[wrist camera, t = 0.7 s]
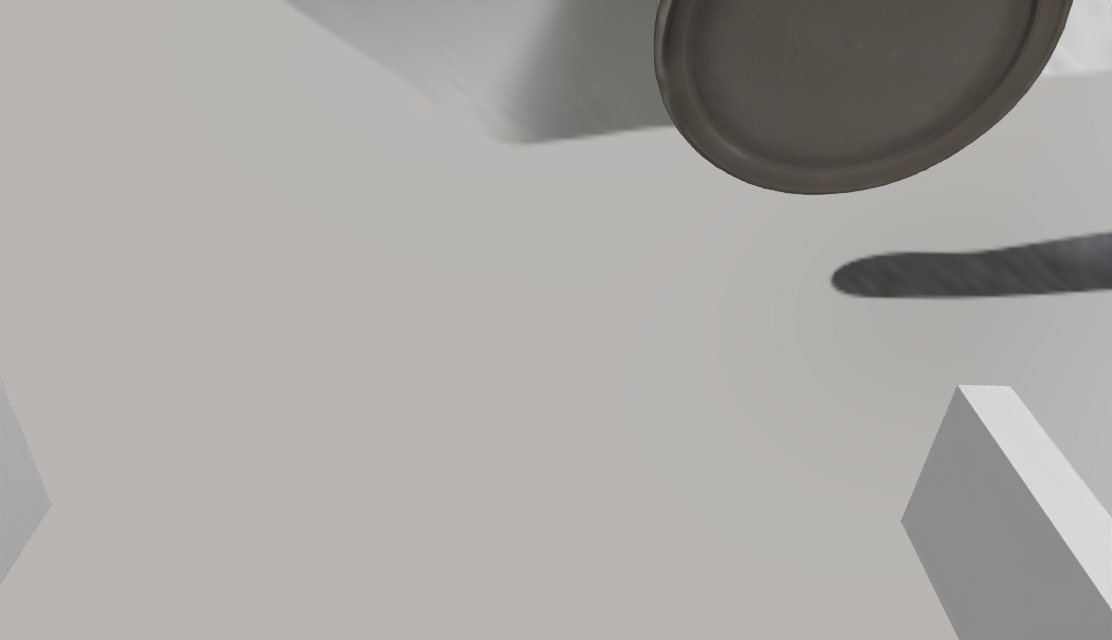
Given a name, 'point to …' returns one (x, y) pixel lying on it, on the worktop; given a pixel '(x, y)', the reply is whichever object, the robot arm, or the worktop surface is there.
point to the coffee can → (845, 82)
